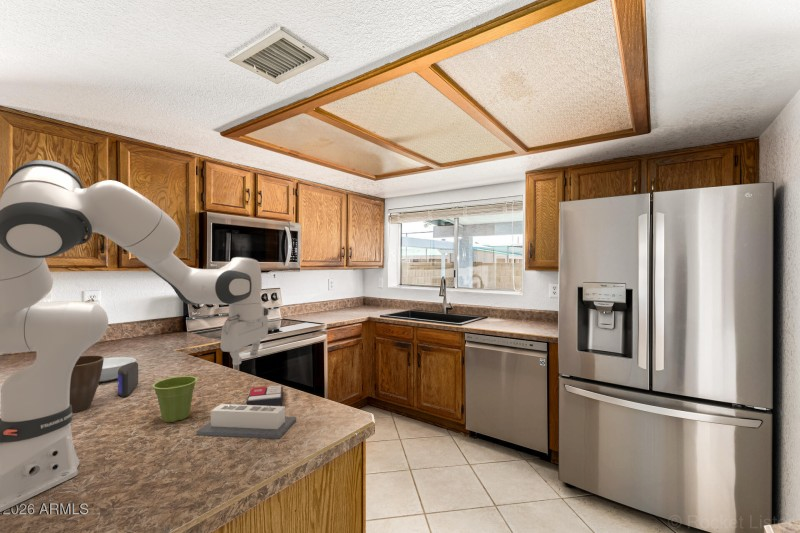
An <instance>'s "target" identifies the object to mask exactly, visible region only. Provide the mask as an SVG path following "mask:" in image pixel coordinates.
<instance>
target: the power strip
mask: <svg viewBox="0 0 800 533" xmlns="http://www.w3.org/2000/svg"><path fill="white" fill-rule="evenodd" d="M227 405H231V406H232V410H228V409H226V406H227ZM266 407H267V406H259V405H246V404H232V403H231V404H228V403H221V404H219V405H217V406H216V407H213V409H211V410H210V422H211V426H218V427H239V428H261V429H278V428H279V427H280V426H281V425H282V424H283V423H284V422H285V417H286V406H283V405H282V406H270V407H271V411H265V408H266Z"/></svg>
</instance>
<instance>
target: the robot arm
mask: <svg viewBox="0 0 800 533" xmlns="http://www.w3.org/2000/svg"><path fill="white" fill-rule="evenodd" d="M93 233H95V234H100V235H101V236H104V237H106V238H107V239H109V240H110V241H112V242H113V243H115V244H116V245H118V246H119V247H121V248H123V250H125V251H126V252H128V253H129V254H131V255H133V257H136V259H137V260H138V261H139V262H140V263H142V264H143V266H145V267H146V268H148V269H149V271H151V272H153V273H154V274H155V275H157V276H158V277H159V278H161V279H162V280H163V281H165V283H167V284H168V285H169V286H170V287H171V288H172V289H173V290H174V292H175V294H176V295H177V297H178V298H179V299H180V300H181V301H182V302H184V303H185V304H186V305H192V306H195V305H196V306H197V305H215V306H216V305H224V306H226V305H228V317H226V320H225V321H224V323H223V325H222V327H221V334H220V350H221V351H222V352H225V353H226V352H227V353H229V354H230V357H231V358H232V365H233V366H238V365H239V366H240V365H241V364H242V360H243V359H242V357H240V352H241V349H243V348H245V347H247V346H250V345H251V350H250V351H249V352H250V354H249V356H250V357H253V358H255V357H257V356H258V355H259V349H260V346H261V340H265V339H266V338H267V336H268V333H269V332H268V331H269V318H268V316H269V315H270V309H269V308H268V307H266V306H264V305H263V301H262V296H261V292H262V288H263V286H262V284H263V282H262V281H263V280H262V269H261V265H260V262H259V261H258V260H257V259H255V258H252V257H247V256H246V257H245V256H235V257H232V258H231V259H230V262H228V263H227V264H225V265H224V266H221V267H219V268H207V269H206V268H195V267H191V266H188V265H187V264H186V263H184V262H183V261H182V260H181V259H180V258H179V257H178V256H177V255H175V254H174V252H175V251H176V249H177V248H178V246H179V243H180V240H181V230H180V227H179V226H178V224H177V223H176V221H175V220H174V219H173V218H172V217H171V216H170V215H169V214H167V213H166V211H164V210H162V208H160V207H159V206H158V205H156V204H155V203H154V202H152V201H151V200H149V199H148V198H147V197H146V196H144V195H142V194H141V193H140V192H138V191H136V190H135V189H133V188H131V187H130V186H128V185H126V184H124V183H122V182H119V181H118V180H111V179H108V180H102V181H98V182H96V183H94V184H92V185H90V186H88V187H85V188H84V186H83V183H82V181H81V179H80V178H79V176H78V174H76V172H74V171H73V170H72V169H71V168H69V167H68V166H66V165H64V164H62V163H59V162H57V161H53V160H47V159H36V160H30V161H28V162H25V163H24V164H22V165H20V166H18V167H17V168H16V169H15V170H14V171H13V172H12V173H11V174H10V176H9V178H8V180H7V182H6V185H5V187H4V188H3V190H2V191H1V195H0V355H2V354H3V355H5V354H16V353H18V354H19V353H27V352H28V353H30V352H36V353H35V354H36V357H35V360H34V362H33V363H32V364H30V365H28V366H26V367H25V366H24V367H23V368H21V369H20V370H17V371H15V372H14V373H12V374H10V375H9V376H8V377H6V379H5V380H4V381H3V382H2V385H1V387H0V513H1V512H3V511H5V510H8V509H10V508H11V507H15V506H16V505H18V504H21V503H22V502H24V501H26V500H29V499H30V498H33V497H35V496H37V495H39V494H41V493H43V492H45V491H48V490H50V489H51V488H53V487H55V486H57V485H60V484H62V483H63V482H64V483H65V482H66V481H68V480H70V479H72V478H74V477H76V476H78V466H79V465H80V460H79V458H78V455H77V452H76V448H75V445H74V441H73V434H72V428H71V426H72V425H71V422H72V421H73V414H74V413H72V405H71V404H70V382H71V374H72V371H73V368H74V366H75V364H76V362H77V360H78V359H79V358H80V356H83V354H84V353H85V352H86V351H87V350H88V349H89V348H91V347H92V346H93V345H96V344H97V342H99V341H100V340H101V339H102V338H103V337H104V335H105V334H106V332H107V330H108V326H109V317H108V315H107V312H106V311H105V309H104V308H103V307H102V306H101V305H100V304H98V303H94V302H87V301H77V300H64V301H42V300H43V299H44V298H45V297H47V296H48V295H49V293H50V292H51V290H52V288H53V284H54V279H53V277H52V273H51V272H50V268H49V266H48V263H47V261H46V258H52V257H57V256H59V255H62V254H64V253H66V252H68V251H70V250H72V248H73V249H74V247H76V246H80V245H83V244H86V243H88V241H90V240H91V238H92V234H93Z"/></svg>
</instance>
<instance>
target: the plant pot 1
mask: <svg viewBox="0 0 800 533" xmlns="http://www.w3.org/2000/svg"><path fill="white" fill-rule="evenodd" d="M104 358H105V357H104V356H102V355H95V354H94V355H81V356H80V358H79V359H78V360H77V362H76V364H75V366H74V368H73V371H72V374H71V382H70V404H71V405H72V414H75V413H79V412H82V411H85V410H87V409H89V408H90V407H91V404H92V403H93V400H94V397H95V394H96V393H97V390H98V387H99V386H98V385H99V384H100V382H99V380H100V376H101V372H102V367H103V360H104Z"/></svg>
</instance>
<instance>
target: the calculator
mask: <svg viewBox="0 0 800 533" xmlns="http://www.w3.org/2000/svg"><path fill="white" fill-rule="evenodd" d="M283 396H284V386H282V384H281V385H269V386H259V387H252V388H251V389H250V391H249V394H248V396H247V398H246V404H245V405H259V406H283V400H284V398H283Z"/></svg>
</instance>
